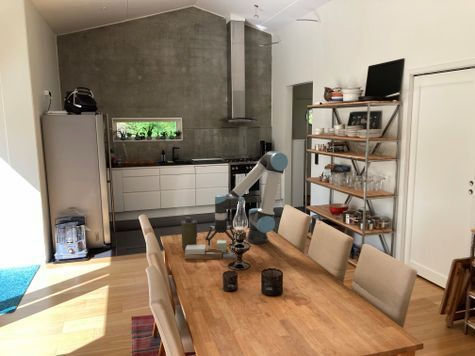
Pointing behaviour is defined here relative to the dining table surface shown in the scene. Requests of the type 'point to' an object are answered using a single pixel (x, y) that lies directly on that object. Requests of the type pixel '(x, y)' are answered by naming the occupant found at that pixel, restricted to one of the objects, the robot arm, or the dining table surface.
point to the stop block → (221, 245)
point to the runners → (206, 254)
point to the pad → (229, 255)
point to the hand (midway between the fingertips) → (221, 250)
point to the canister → (189, 232)
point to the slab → (195, 249)
